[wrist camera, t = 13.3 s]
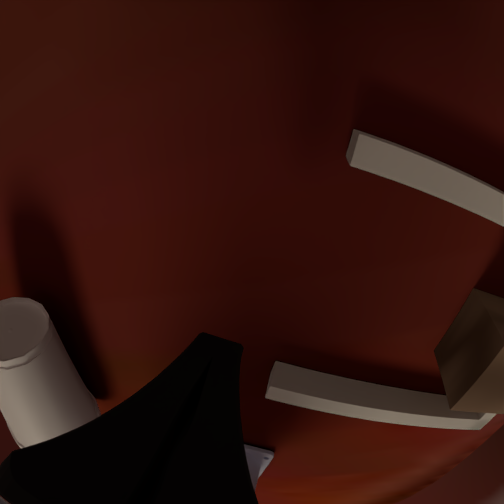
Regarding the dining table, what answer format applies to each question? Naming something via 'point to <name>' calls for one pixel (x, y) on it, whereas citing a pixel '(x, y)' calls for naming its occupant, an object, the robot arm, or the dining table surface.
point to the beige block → (474, 356)
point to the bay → (373, 395)
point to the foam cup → (38, 376)
